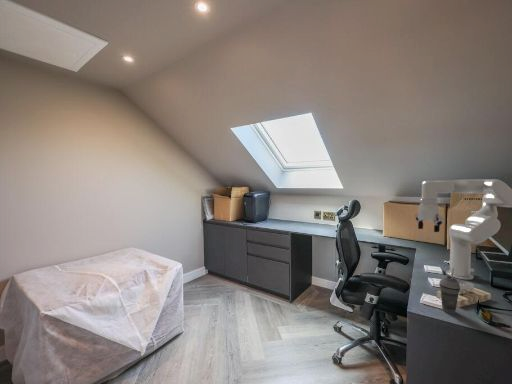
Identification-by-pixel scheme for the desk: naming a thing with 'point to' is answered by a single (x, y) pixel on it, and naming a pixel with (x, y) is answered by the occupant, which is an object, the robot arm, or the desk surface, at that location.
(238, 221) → the desk surface
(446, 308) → the beverage cup
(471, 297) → the slatted wooden pallet
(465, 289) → the clip
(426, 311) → the desk surface
